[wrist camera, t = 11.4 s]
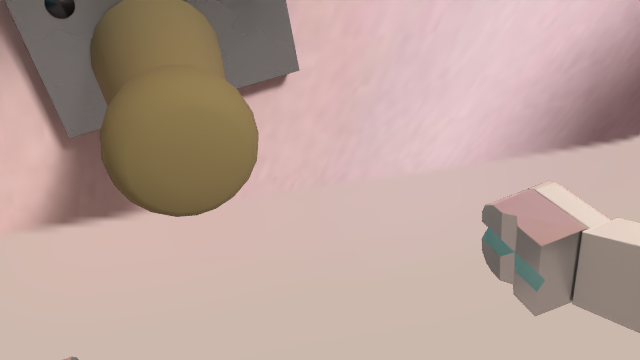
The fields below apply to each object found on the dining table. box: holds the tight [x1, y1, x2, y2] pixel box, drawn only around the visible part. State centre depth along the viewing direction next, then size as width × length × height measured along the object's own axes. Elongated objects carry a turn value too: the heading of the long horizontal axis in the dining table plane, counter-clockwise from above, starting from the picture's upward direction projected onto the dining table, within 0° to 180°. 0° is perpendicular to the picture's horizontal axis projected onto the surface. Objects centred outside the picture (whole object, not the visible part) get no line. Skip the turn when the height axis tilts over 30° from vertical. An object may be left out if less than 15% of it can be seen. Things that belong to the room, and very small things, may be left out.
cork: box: [90, 0, 258, 217], centre depth 22 cm, size 6×6×11 cm
